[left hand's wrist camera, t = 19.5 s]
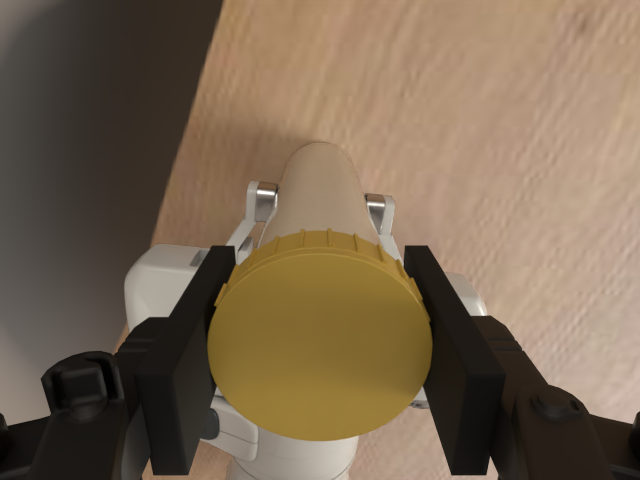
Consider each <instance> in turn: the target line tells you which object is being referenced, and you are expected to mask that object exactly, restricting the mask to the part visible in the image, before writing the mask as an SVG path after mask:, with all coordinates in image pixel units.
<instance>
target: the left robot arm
mask: <svg viewBox="0 0 640 480" xmlns="http://www.w3.org/2000/svg"><path fill="white" fill-rule="evenodd" d="M235 265H236V256H235V246H212V247H211V249H210V250H209V252H208V253H207V255H206V257H205V258H204V260H203V262H202V263H201V265H200V266H199V268H198V270H197V271H196V273H195V275H194V276H193V278H192V279H191V281H190V283H189V284H188V286H187V288H186V289H185V291H184V292H183V294H182V296H181V297H180V299H179V301H178V302H177V304H176V305H175V307H174V309H173V310H172V312H171V314H170V315H169V317H148V318H147V319H146V320H144V321H143V322H141V323H140V324H138V325H137V326H136V327H134V328H133V330H132V331H131V332H130V334H129V335H128V337H127V338H126V339H125V342H123V344H122V345H121V346H120V348H119V349H118V352H116V353H115V355H114V356H113V355H112V354H111V353H107V352H102V351H90V352H84V353H80V354H76V355H73V356H70V357H68V358H66V359H64V360H61V361H59V362H58V363H56V364H55V365H53V366H52V367H51V368H49V369H48V370H47V371H46V372H45V374H44V375H43V376H42V378H41V382H42V385H43V388H44V392H45V395H46V398H47V402H48V405H49V408H50V411H51V415H50V416H47V417H44V418H41V419H37V420H32V421H27V422H23V423H19V424H14V425H10V426H7V424H6V421H5V419H4V416H3V415H2V414H1V413H0V480H143V479H142V474H143V471H144V469H145V467H146V464H147V462H148V460H149V458H150V460H151V465H152V470H153V475H188V474H189V471H190V468H191V465H192V462H193V459H194V456H195V453H196V450H197V446H198V443H199V440H200V437H201V434H202V431H203V428H204V425H205V422H206V419H207V416H208V413H209V410H210V406H211V403H212V400H213V397H214V394H215V391H216V388H217V385H216V383H215V381H214V379H213V376H212V374H211V371H210V367H209V360H208V351H207V337H208V331H209V327H210V323H211V320H212V317H213V315H214V313H215V311H216V308H217V307H216V306H214V304H215V302H216V300H217V298H218V295H219V293H220V291H221V289H222V286H223V284H224V283H225V284H227V283H228V280H229V278H230V276H231V274H232V271H233V269H234V267H235ZM403 268H404V270H405V272H406V273H407V275H408V276H409V278H413V279H414V281H415V283H416V285H417V288H418V290H419V292H420V294H421V296H422V299H423V300H422V302H423V304H424V306H425V308H426V311H427V313H428V315H429V317H430V322H429V324H430V327H431V332H432V339H433V348H432V357H431V365H430V369H429V372H428V375H427V378H426V380H425V382H424V384H423V389H424V392H425V395H426V398H427V401H428V404H429V407H430V410H431V413H432V417H433V420H434V423H435V426H436V429H437V432H438V435H439V438H440V441H441V444H442V447H443V450H444V453H445V456H446V460H447V463H448V466H449V469H450V472H451V475H486V474H487V469H488V464H489V459H490V456H491V458H492V461H493V463H494V465H495V467H496V470H497V472H498V474H499V475H498V479H497V480H640V412H638V413H637V415H636V418H635V420H634V423H633V424H629V423H625V422H620V421H616V420H611V419H607V418H603V417H598V416H595V415H592V414H589V412H588V410H587V409H586V407H585V406H584V404H583V403H582V402H581V401H580V400H578V399H577V398H576V397H575V396H573V395H572V394H570V393H568V392H566V391H565V390H563V389H561V388H558V387H555V386H552V385H548V383H547V382H546V381H545V379H544V378H543V376H542V375H541V374H540V372H539V371H538V370H537V368H536V367H535V365H534V364H533V363H532V361H531V360H530V359H529V357H528V356H527V354H526V353H525V352H524V351H522V348H521V346H520V345H519V344H518V342H517V341H515V338H514V337H513V335H512V334H511V333H510V331H509V330H508V328H507V327H506V326H505V325H504V324H502V323H501V322H499V321H498V320H496V319H495V318H493V317H492V316H470V314H469V312H468V311H467V309H466V307H465V306H464V304H463V303H462V301H461V299H460V298H459V296H458V294H457V293H456V291H455V290H454V288H453V286H452V285H451V283H450V281H449V280H448V278H447V277H446V275H445V273H444V272H443V270H442V268H441V267H440V265H439V264H438V262H437V260H436V259H435V257H434V255H433V254H432V252H431V251H430V249H429V247H428V246H405V253H404V265H403Z"/></svg>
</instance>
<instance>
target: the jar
mask: <svg viewBox="0 0 640 480" xmlns="http://www.w3.org/2000/svg"><path fill="white" fill-rule="evenodd" d="M328 228H332V231H335V232H341V233H346V234H350V235H354V233H356V234H358V237H360V238H362V239H364V240H367V241H369V242H371V243H373V244H375V245H376V246H377V244H378V243H379V244H380V245H382V243H381V241H380V238H379V235H378V232H377V229H376V227H375V224H374V221H373V218H372V215H371V213H370V210H369V207H368V204H367V201H366V198H365V196H364V193H363V190H362V187H361V184H360V182H359V179H358V176H357V173H356V170H355V168H354V165H353V163H352V161H351V159H350V158H349V156H348V155H347V154H346V153H345V152H344V151H343V150H341V149H340V148H338V147H337V146H334V145H332V144H328V143H320V142H319V143H312V144H308V145H305V146H303V147H301V148H300V149H299V150H297V151H296V152H295V153H294V154H293V155H292V156H291V157H290V159H289V161H288V163H287V165H286V167H285V170H284V173H283V176H282V179H281V181H280V184H279V187H278V190H277V193H276V195H275V198H274V201H273V204H272V206H271V209H270V212H269V215H268V218H267V220H266V223H265V226H264V229H263V232H262V234H261V237H260V240H259V243H258V245H257V248H256V249H259V248H260V247H262V246H263V245H265V244H267V243H269V242H271V241H273V240H274V238H275V236H279V238H280V237H283V236H286V235H289V234H294V233H299V232H300V230H301V229H305V231H316V230H320V231H327V229H328ZM382 248H383V246H382ZM383 250H384V249H383Z"/></svg>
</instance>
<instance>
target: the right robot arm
mask: <svg viewBox="0 0 640 480" xmlns="http://www.w3.org/2000/svg"><path fill="white" fill-rule="evenodd" d="M277 190H278V184H275V183H267V182H260V181H251V182H250V183H249V185H248V189H247V195H246V213H245V215H244V216H243V218H242V219H241V221H240V222H239V223H238V225H237V226H236V228H235V229H234V231H233V232H232V234H231V235H230V237H229V239H228V240H227V242H226V244H225V246H235V256H236V264H238V265H240V264H241V263H242V262H243V261H244V260H245V259H246V258H247V257H248V256H249V255H250V254H251V252H252V249H253V248H254V239H253V238H252V237H247V236H248V234H249V233H250V232H251V230H252V229H253V227H254V226H255V224H256V223H257V221H261V222H266V220H267V218H268V215H269V212H270V209H271V206H272V204H273V201H274V198H275V195H276V193H277ZM364 196H365V198H366V201H367V204H368V207H369V210H370V213H371V215H372V218H373V221H374V224H375V227H376V229H377V232H378V235H379V238H380V241H381V243H382V246H383V248H384V251H385V252H387V253H388V254H389V255H390V256H392V257H393V258H394V259H395V260H397V259H399V260H400V261H401V263H402V266H403V265H404V264H403V262H402V259H401V257H400V254H399V252H398V249H397V246H396V244H395V241H394V239H393V236H392V234H391V226H392V221H393V215H394V210H395V201H394V199H393V198H392V196H389V195H380V194H369V193H365V195H364ZM210 249H211V248H202V247H192V246H182V245H173V244H156V245H154V246H153V247H151V248H150V249H149V250H148V251H147V252H146V253H145V254H143V255H142V256H141V257H140V258H139V259H138V260H137V261H136V263H135V264H134V265H133V266H132V267H131V269H130V270H129V272H128V273H127V276H126V278H125V283H124V295H125V307H126V315H127V322H128V328H129V334H130V332H131V331H132V330H133V328H134V327H136V326H137V325H138V324H140V323H141V322H143V321H144V320H146V319H147V318H148V317H169V315H170V314H171V312H172V310H173V309H174V307H175V305H176V304H177V302H178V301H179V299H180V297H181V296H182V294H183V292H184V291H185V289H186V288H187V286H188V284H189V283H190V281H191V279H192V278H193V276H194V275H195V273H196V271H197V270H198V268H199V266H200V265H201V263H202V262H203V260H204V258H205V257H206V255H207V253H208V252H209V250H210ZM444 273H445V275H446V277H447V278H448V280H449V281H450V283H451V285H452V286H453V288H454V290H455V291H456V293H457V294H458V296H459V298H460V299H461V301H462V303H463V304H464V306H465V307H466V309H467V311H468V312H469V314H470V316H487V310H486V306H485V304H484V302H483V300H482V299H481V297H480V295H479V294H478V292H477V291H476V289H475V288H474V287H473V285H472V284H471V283H470V282H469V281H468V279H467V278H466V277H465V276H463V275H461V274H457V273H448V272H444ZM408 406H413V407H414V408H419V409H429V408H430V407H429V404H428V401H427V398H426V395H425V392H424V389H423V386H422V388H421V390H420V391H419V393H418V394H417V396H416V397H415V399H414V400H413V401H412V402H411V403H410V404H409V405H408ZM200 440H201V441H203V442H206V443H208V444H211V445H213V446H215V447H217V448H219V449H221V450H223V451H225V452H227V453H229V454H230V455H231V459H230V461H229V464H228V467H227V472H226V477H225V480H349V476H348V470H349V468H350V466H351V464H352V462H353V460H354V457H355V454H356V450H357V445H358V440H359V436H355V437H352V438H347V439H342V440H336V441H305V440H298V439H292V438H288V437H284V436H281V435H278V434H275V433H272V432H269V431H267V430H265V429H263V428H261V427H259V426H257V425H255V424H254V423H252V422H251V421H249V420H247V419H246V418H245V417H243V416H242V415H241V414H240V413H238V412H237V411H236V410H235V409H234V408H233V407H232V406H231V405H230V404H229V403H228V401H227V400H226V399H225V398H224V396H223V395H222V394H221V392H220V390H219V389H218V387H217V388H216V391H215V394H214V397H213V400H212V403H211V406H210V410H209V413H208V416H207V419H206V422H205V425H204V428H203V431H202V434H201V437H200Z"/></svg>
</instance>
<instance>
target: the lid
mask: <svg viewBox="0 0 640 480" xmlns="http://www.w3.org/2000/svg"><path fill="white" fill-rule="evenodd" d="M422 300H423V299H422V296H421V294H420V292H419V290H418V288H417V285H416V283H415V281H414V279H413V278H409V276H408V275H407V273H406V272H405V270H404V268H403V266H402V263H401V261H400V260H399V259H397V260H395V259H394V258H393V257H392V256H390V255H389V254H388V253H387V252H385V251H384V250H383V248H382V245H380V244H379V243H378V244H377V246H376V245H375V244H373V243H371V242H369V241H367V240H364V239H362V238H360V237H358V234H356V233H354V235H350V234H346V233H341V232H335V231H332V228H328V229H327V231H320V230H316V231H305V229H301V230H300V232H299V233H294V234H289V235H286V236H283V237H280V238H279V236H275V238H274V240H273V241H271V242H269V243H267V244H265V245H263V246H262V247H260V248H259V249H256V247H255V248H253V249H252V252H251V254H250V255H249V256H248V257H247V258H246V259H245V260H244V261H243V262H242V263H241V264H240V265H238V264H236V265H235V267H234V269H233V271H232V274H231V276H230V278H229V280H228V283H227V284H225V283H224V284H223V286H222V289H221V291H220V293H219V295H218V298H217V300H216V302H215V304H214V306H216V307H217V308H216V311H215V313H214V315H213V317H212V320H211V323H210V327H209V331H208V337H207V351H208V360H209V367H210V371H211V374H212V376H213V379H214V381H215V383H216V385H217V387H218V389H219V390H220V392H221V394H222V395H223V396H224V398H225V399H226V400H227V401H228V403H229V404H230V405H231V406H232V407H233V408H234V409H235V410H236V411H237V412H238V413H240V414H241V415H242V416H243V417H245V418H246V419H247V420H249V421H251V422H252V423H254V424H255V425H257V426H259V427H261V428H263V429H265V430H267V431H269V432H272V433H275V434H278V435H281V436H284V437H288V438H292V439H298V440H305V441H336V440H342V439H347V438H352V437H355V436H359V435H362V434H365V433H367V432H370V431H373V430H375V429H377V428H379V427H381V426H382V425H384V424H386V423H388V422H389V421H391V420H392V419H394V418H395V417H396V416H398V415H399V414H400V413H401V412H402V411H403V410H405V409H406V408H407V407H408V405H409V404H410V403H411V402H412V401H413V400H414V399H415V397H416V396H417V394H418V393H419V391H420V390H421V388H422V386H423V384H424V382H425V380H426V378H427V375H428V372H429V369H430V365H431V357H432V348H433V339H432V332H431V327H430V324H429V322H430V317H429V315H428V313H427V311H426V308H425V306H424V304H423V302H422Z"/></svg>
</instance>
